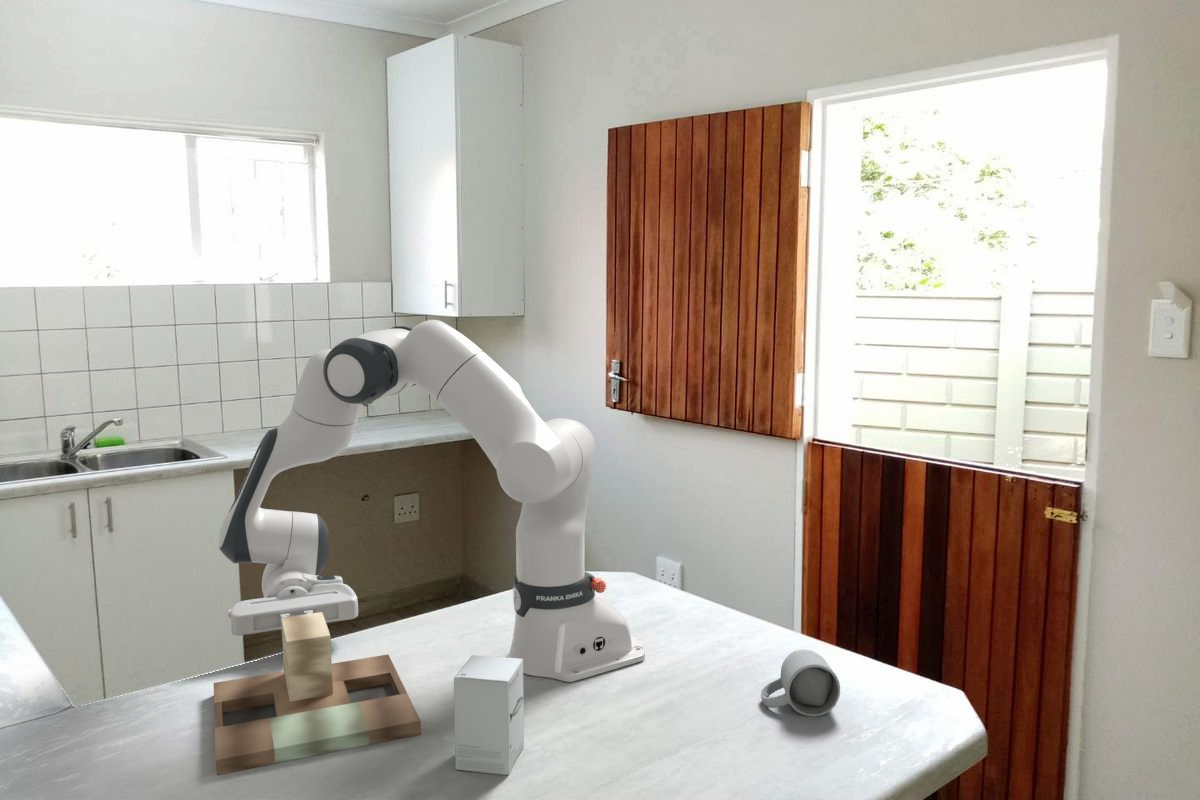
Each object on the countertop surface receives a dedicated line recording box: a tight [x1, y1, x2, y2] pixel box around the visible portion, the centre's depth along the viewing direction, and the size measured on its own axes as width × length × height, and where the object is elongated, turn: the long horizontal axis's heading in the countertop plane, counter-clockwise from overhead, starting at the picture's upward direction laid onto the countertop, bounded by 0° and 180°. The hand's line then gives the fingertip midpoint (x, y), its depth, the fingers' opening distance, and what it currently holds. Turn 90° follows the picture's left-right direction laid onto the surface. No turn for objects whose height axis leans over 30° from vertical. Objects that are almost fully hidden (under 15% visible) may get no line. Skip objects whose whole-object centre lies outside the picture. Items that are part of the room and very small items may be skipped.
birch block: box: [281, 612, 333, 702], centre depth 137 cm, size 6×10×9 cm, turn 23°
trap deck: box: [213, 654, 422, 776], centre depth 133 cm, size 26×24×2 cm
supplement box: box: [453, 654, 525, 776], centre depth 120 cm, size 7×7×13 cm
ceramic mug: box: [760, 649, 841, 718], centre depth 135 cm, size 11×8×8 cm
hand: (299, 627), depth 148 cm, fingers closed
